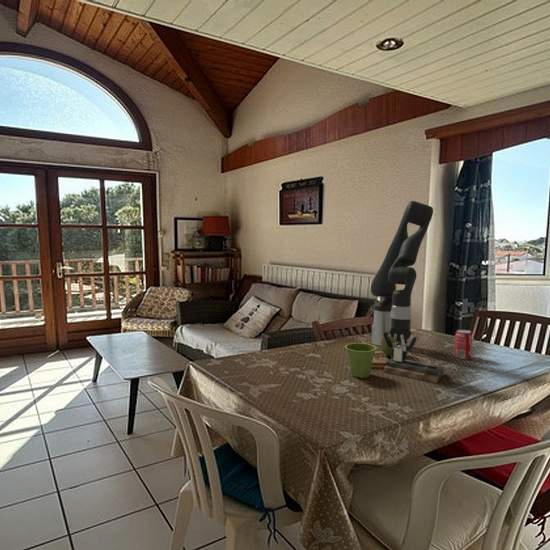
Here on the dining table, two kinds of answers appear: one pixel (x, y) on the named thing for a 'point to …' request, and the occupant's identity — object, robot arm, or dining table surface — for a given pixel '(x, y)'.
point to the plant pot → (360, 358)
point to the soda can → (463, 344)
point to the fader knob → (398, 354)
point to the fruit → (385, 348)
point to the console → (415, 370)
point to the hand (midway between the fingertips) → (399, 358)
